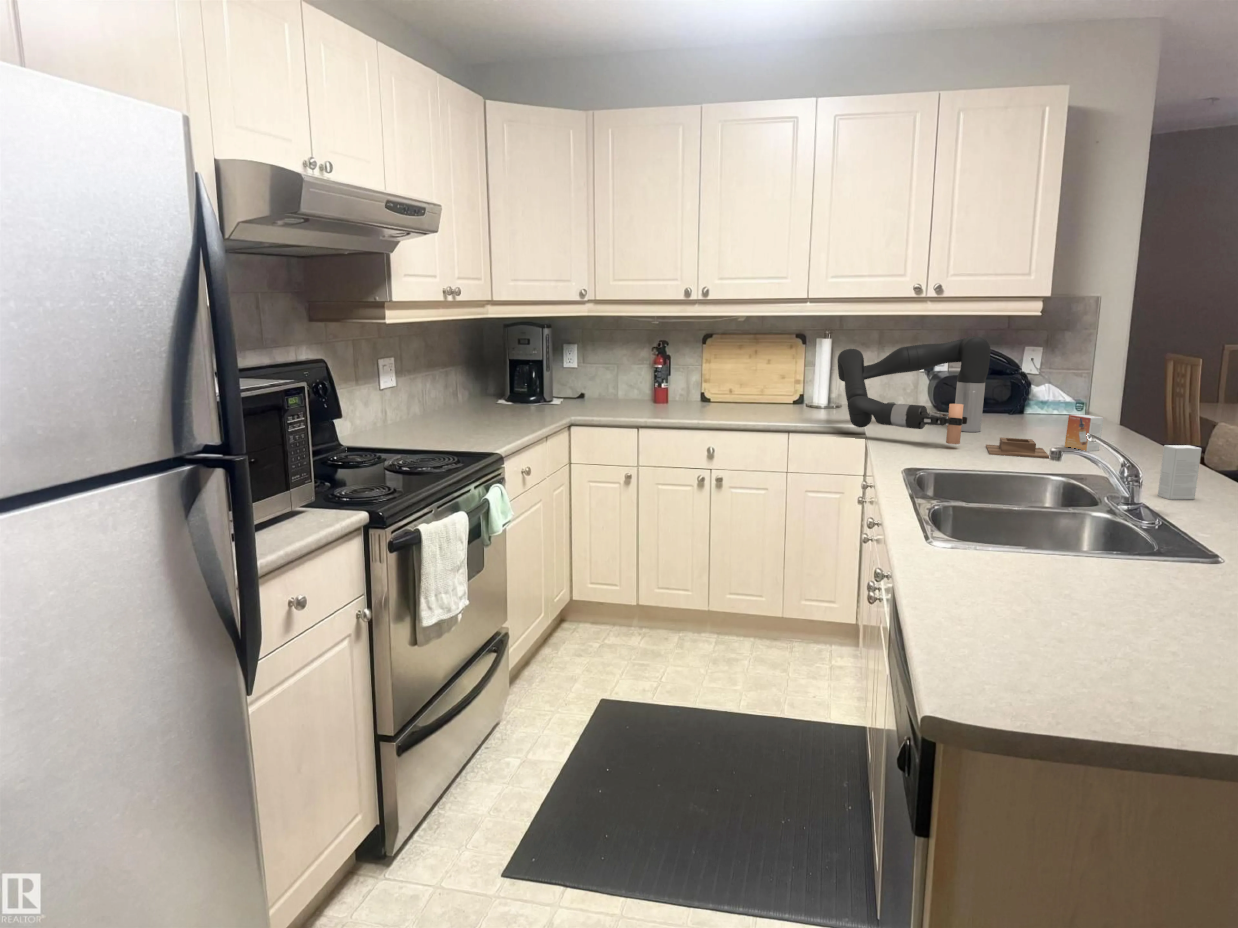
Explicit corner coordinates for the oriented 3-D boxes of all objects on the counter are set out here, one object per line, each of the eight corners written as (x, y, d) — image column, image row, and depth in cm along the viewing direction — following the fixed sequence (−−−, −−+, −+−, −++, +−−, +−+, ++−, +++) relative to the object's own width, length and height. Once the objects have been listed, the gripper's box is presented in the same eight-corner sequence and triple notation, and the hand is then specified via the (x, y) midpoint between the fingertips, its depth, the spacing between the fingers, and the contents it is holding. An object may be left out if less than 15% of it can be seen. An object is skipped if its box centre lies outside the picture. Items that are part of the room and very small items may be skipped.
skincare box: (1181, 495, 186) (1189, 445, 184) (1194, 499, 182) (1203, 448, 180) (1155, 495, 186) (1163, 444, 184) (1168, 499, 182) (1176, 447, 180)
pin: (945, 441, 250) (949, 403, 247) (959, 442, 248) (963, 404, 246) (946, 443, 246) (949, 404, 244) (960, 444, 245) (963, 405, 242)
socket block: (985, 446, 252) (986, 435, 252) (1042, 450, 247) (1043, 438, 246) (989, 454, 238) (990, 442, 237) (1049, 458, 232) (1051, 446, 232)
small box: (1063, 447, 253) (1067, 414, 251) (1076, 446, 255) (1081, 413, 253) (1086, 451, 246) (1090, 417, 244) (1099, 450, 248) (1104, 417, 246)
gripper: (916, 425, 261) (970, 431, 250) (899, 430, 250) (955, 436, 239) (918, 402, 260) (973, 407, 249) (901, 406, 249) (957, 411, 238)
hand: (964, 421), depth 244 cm, fingers closed on pin, 4 cm apart
